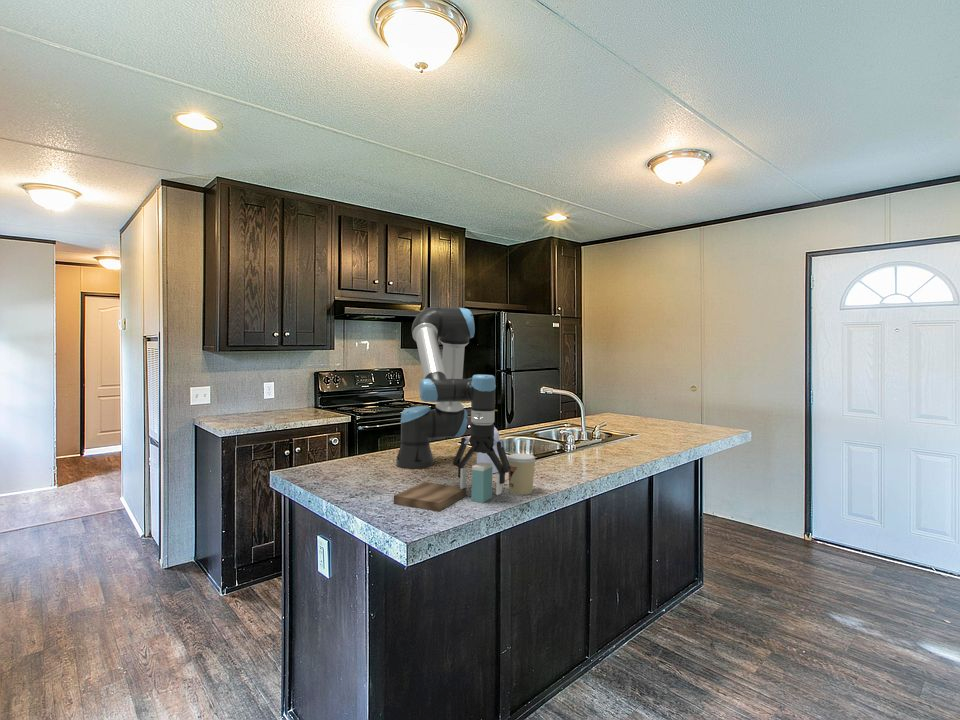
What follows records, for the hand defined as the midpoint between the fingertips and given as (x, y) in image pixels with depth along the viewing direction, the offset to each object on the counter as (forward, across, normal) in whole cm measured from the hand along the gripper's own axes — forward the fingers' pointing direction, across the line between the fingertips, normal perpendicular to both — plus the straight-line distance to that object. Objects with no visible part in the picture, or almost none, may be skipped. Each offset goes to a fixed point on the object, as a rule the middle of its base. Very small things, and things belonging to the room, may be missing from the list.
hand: (480, 490), depth 165 cm
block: (+3, 0, 0) cm, 3 cm away
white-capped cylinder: (+3, +8, +14) cm, 17 cm away
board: (+3, -14, -8) cm, 16 cm away
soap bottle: (+3, -13, +34) cm, 36 cm away
